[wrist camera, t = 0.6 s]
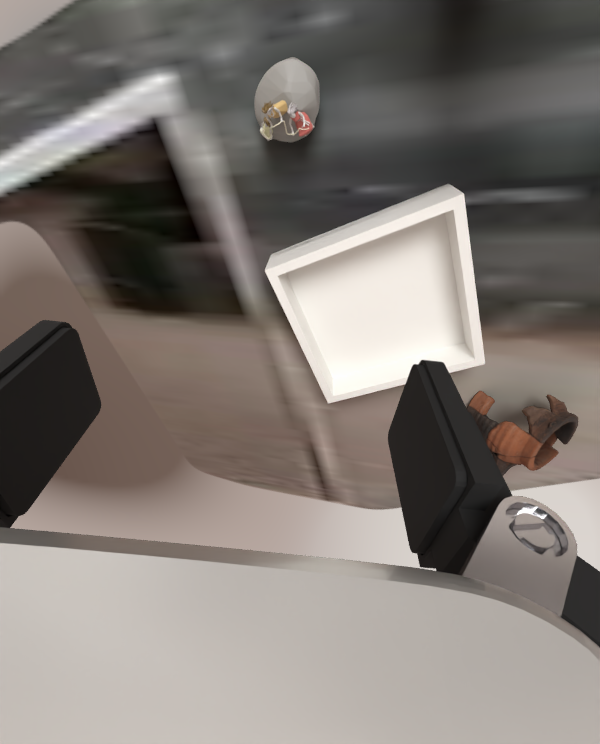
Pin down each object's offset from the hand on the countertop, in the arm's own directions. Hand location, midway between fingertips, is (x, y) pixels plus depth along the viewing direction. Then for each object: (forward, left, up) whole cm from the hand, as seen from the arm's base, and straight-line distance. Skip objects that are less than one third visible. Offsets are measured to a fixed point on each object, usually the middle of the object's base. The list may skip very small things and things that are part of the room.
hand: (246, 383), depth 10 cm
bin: (-4, +11, -24) cm, 27 cm away
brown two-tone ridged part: (-13, +31, -24) cm, 41 cm away
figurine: (-2, -6, -24) cm, 25 cm away
